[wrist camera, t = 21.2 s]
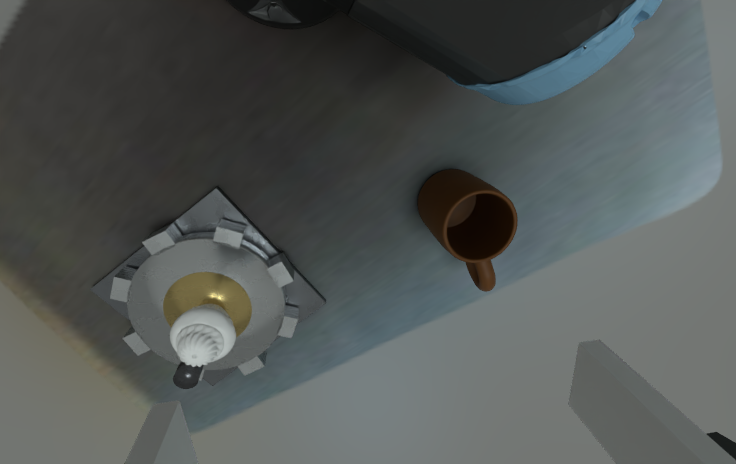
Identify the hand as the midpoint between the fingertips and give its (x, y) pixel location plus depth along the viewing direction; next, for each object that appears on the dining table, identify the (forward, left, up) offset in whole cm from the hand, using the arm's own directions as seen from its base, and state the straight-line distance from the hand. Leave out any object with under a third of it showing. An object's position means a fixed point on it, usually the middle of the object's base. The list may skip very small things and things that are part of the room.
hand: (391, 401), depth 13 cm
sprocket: (+2, -19, -31) cm, 36 cm away
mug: (+12, +8, -32) cm, 35 cm away
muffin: (+3, -19, -28) cm, 34 cm away
